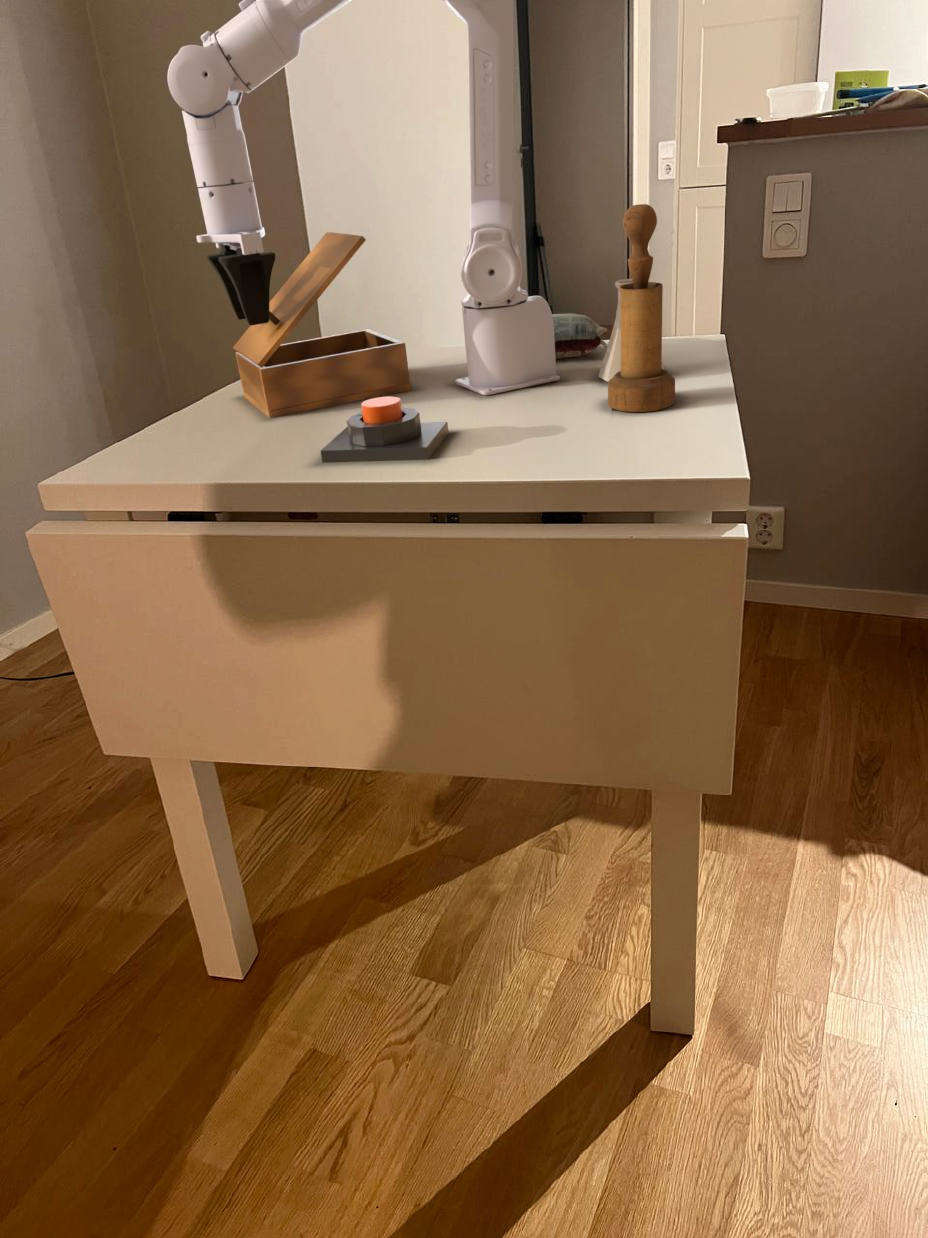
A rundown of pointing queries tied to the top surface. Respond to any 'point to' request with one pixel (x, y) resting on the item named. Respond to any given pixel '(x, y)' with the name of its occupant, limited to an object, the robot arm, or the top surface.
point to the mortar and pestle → (641, 326)
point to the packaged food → (576, 335)
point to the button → (381, 410)
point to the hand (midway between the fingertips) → (253, 320)
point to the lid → (298, 295)
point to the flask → (614, 343)
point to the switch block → (386, 440)
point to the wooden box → (325, 372)
